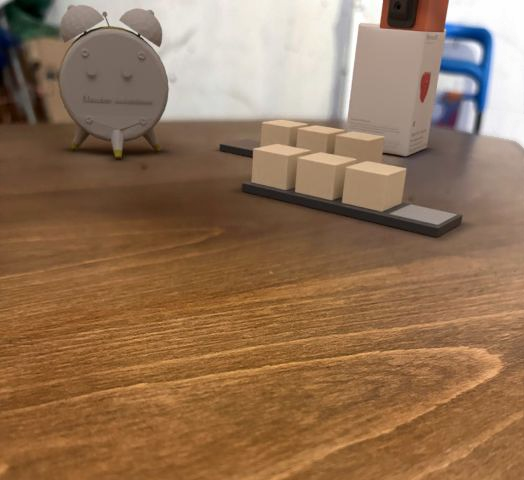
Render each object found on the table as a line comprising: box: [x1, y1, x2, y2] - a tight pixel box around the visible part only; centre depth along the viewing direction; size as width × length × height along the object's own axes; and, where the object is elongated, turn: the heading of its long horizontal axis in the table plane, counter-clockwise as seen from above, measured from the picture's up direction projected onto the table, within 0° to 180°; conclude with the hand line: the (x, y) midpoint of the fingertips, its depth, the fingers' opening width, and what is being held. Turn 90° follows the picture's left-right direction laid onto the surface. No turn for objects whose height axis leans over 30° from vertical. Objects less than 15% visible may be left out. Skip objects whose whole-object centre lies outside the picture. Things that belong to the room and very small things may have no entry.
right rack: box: [241, 144, 464, 238], centre depth 61 cm, size 6×20×4 cm, turn 55°
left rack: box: [219, 119, 385, 164], centre depth 78 cm, size 6×20×4 cm, turn 55°
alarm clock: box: [58, 4, 170, 160], centre depth 73 cm, size 12×7×15 cm, turn 102°
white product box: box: [345, 22, 447, 157], centre depth 87 cm, size 9×9×15 cm
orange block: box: [379, 0, 450, 32], centre depth 54 cm, size 4×4×3 cm
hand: (412, 27), depth 55 cm, fingers closed on orange block, 4 cm apart
